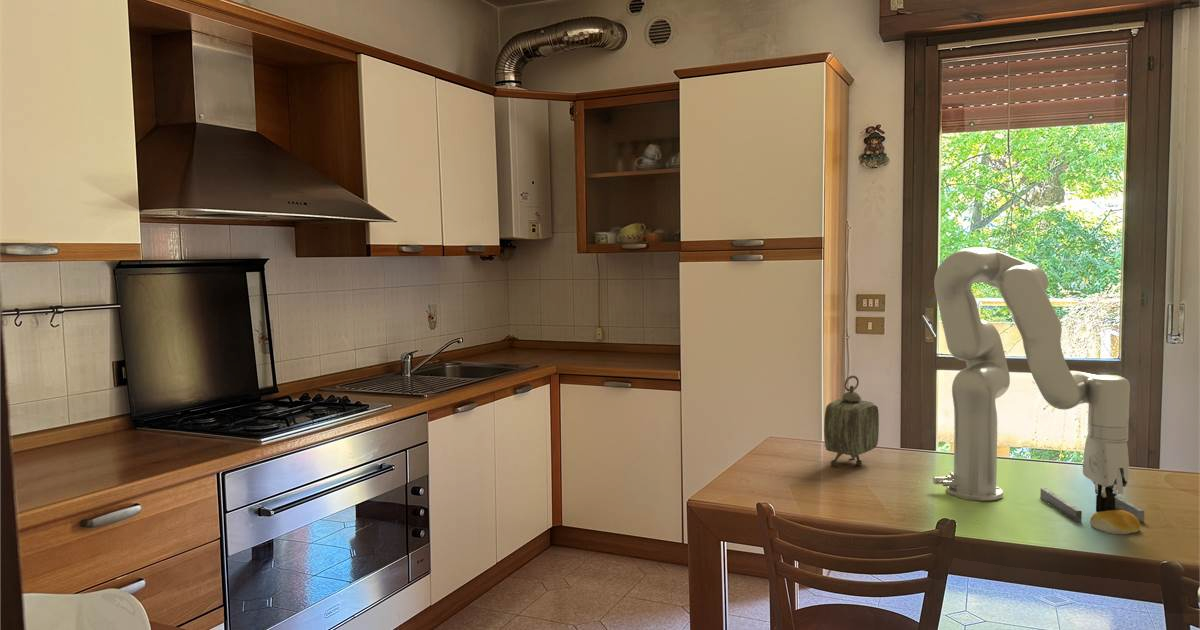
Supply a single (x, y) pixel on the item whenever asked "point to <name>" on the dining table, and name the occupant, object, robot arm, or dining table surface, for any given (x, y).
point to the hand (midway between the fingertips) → (1105, 513)
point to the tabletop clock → (851, 425)
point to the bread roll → (1115, 522)
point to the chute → (1077, 513)
